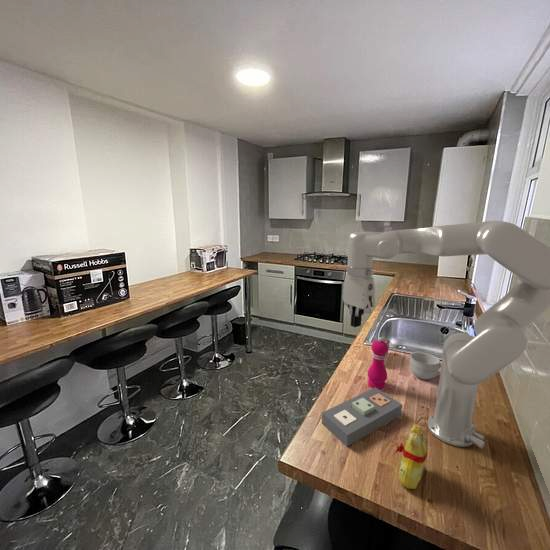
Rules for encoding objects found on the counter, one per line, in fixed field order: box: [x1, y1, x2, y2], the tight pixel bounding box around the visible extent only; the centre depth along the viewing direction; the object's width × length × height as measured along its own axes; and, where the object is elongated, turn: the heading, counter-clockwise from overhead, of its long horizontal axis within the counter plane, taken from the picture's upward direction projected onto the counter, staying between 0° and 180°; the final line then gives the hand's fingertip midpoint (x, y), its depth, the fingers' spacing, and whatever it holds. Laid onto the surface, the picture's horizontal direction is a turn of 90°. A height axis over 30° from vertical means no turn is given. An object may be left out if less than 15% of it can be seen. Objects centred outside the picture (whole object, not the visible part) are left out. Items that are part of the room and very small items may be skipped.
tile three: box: [369, 393, 391, 407], centre depth 99 cm, size 5×5×4 cm
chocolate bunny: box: [394, 424, 428, 490], centre depth 74 cm, size 7×11×15 cm, turn 140°
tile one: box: [333, 410, 357, 427], centre depth 91 cm, size 5×5×4 cm
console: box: [321, 387, 403, 448], centre depth 95 cm, size 11×25×4 cm, turn 122°
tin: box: [383, 338, 391, 356], centre depth 131 cm, size 15×3×8 cm, turn 144°
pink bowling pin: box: [367, 336, 389, 391], centre depth 111 cm, size 7×7×20 cm
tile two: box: [352, 398, 375, 417], centre depth 94 cm, size 5×5×4 cm
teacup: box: [409, 351, 442, 380], centre depth 118 cm, size 14×11×8 cm
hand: (355, 325), depth 97 cm, fingers closed
